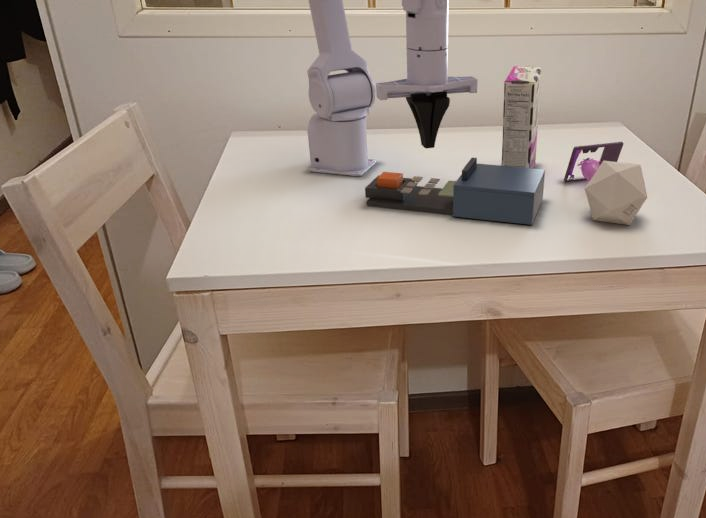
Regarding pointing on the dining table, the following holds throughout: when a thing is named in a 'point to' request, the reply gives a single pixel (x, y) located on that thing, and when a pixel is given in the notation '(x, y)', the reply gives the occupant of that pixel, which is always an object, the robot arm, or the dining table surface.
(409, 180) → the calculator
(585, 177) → the purple piece
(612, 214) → the die
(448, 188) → the keypad
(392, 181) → the on key
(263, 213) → the dining table surface
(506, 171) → the cover
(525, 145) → the candy bar box
